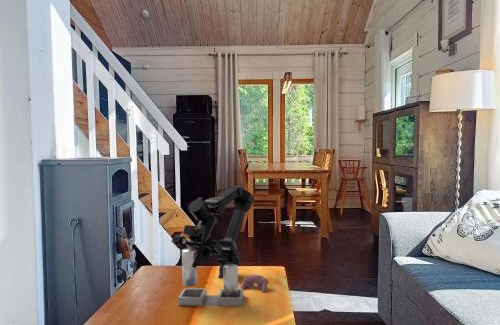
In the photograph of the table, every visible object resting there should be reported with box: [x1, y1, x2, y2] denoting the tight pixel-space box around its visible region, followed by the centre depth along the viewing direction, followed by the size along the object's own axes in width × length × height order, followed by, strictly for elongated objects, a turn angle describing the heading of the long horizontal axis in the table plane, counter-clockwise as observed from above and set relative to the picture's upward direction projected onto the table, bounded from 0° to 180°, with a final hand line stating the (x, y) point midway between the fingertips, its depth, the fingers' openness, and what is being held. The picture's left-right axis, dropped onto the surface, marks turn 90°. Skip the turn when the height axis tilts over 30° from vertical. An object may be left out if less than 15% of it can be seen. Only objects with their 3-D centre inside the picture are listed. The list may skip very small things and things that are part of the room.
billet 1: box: [181, 247, 198, 287], centre depth 125 cm, size 5×5×12 cm
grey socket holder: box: [177, 287, 245, 307], centre depth 125 cm, size 22×9×4 cm, turn 87°
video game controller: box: [240, 274, 269, 294], centre depth 135 cm, size 10×5×7 cm, turn 71°
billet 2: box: [222, 264, 239, 297], centre depth 124 cm, size 5×5×12 cm
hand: (187, 266), depth 124 cm, fingers closed on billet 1, 5 cm apart
